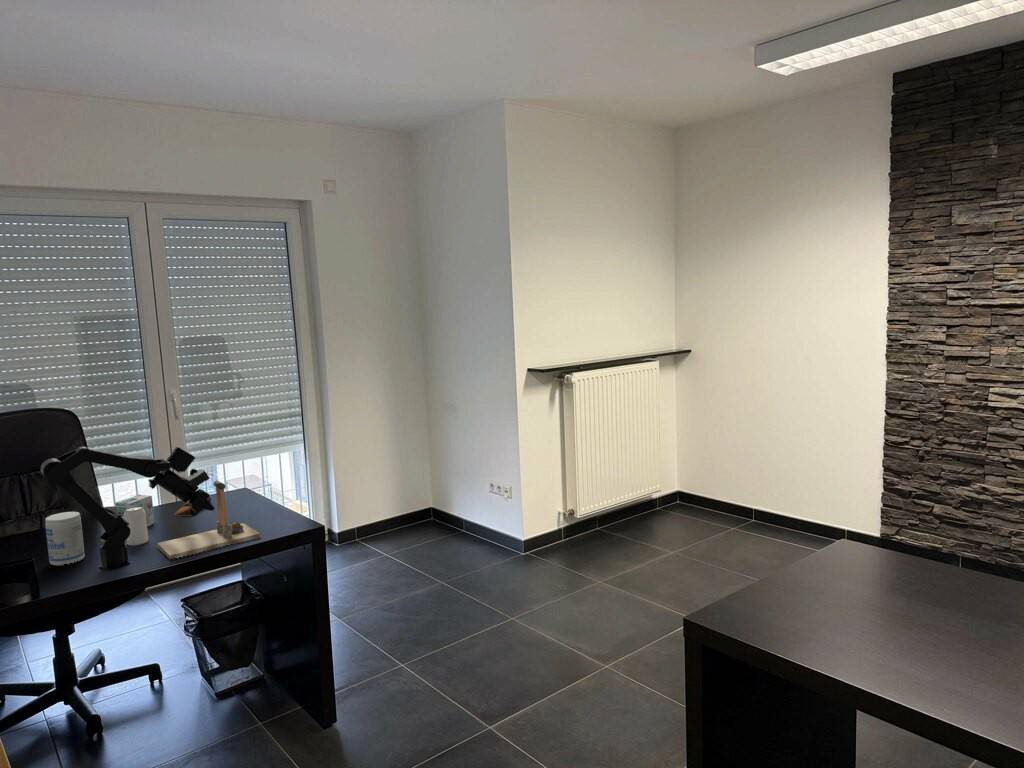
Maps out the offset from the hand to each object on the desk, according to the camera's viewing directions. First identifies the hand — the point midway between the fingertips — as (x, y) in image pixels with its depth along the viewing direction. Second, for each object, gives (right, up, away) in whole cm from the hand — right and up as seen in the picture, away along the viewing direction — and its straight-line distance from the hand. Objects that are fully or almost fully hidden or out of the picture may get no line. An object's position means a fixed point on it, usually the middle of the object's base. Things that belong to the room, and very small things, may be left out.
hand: (213, 509), depth 237 cm
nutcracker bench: (-1, -11, 0) cm, 11 cm away
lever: (+2, -5, +2) cm, 6 cm away
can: (-27, -12, +3) cm, 30 cm away
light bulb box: (-36, -10, +21) cm, 43 cm away
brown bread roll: (-25, -8, +40) cm, 48 cm away
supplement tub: (-41, -15, -11) cm, 45 cm away
